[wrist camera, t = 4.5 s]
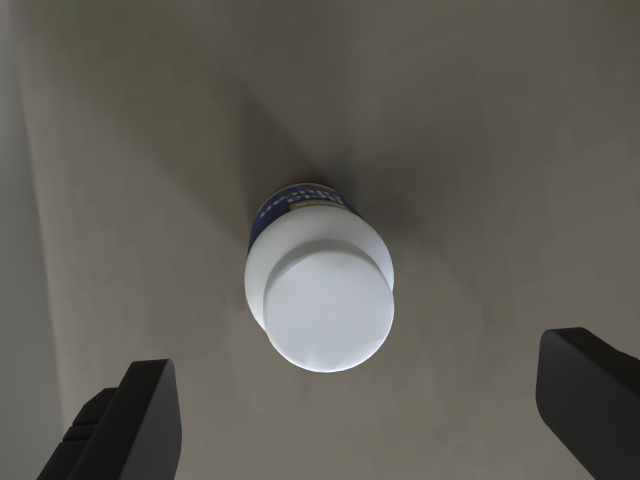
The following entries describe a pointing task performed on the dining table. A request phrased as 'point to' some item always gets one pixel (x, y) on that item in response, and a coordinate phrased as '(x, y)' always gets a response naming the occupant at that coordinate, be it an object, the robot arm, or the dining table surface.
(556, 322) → the dining table surface
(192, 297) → the dining table surface
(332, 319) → the pill bottle
